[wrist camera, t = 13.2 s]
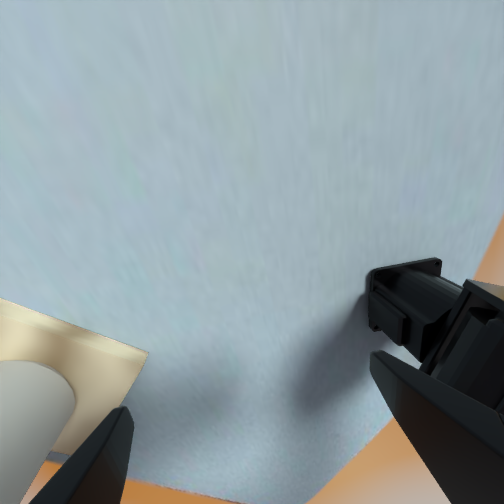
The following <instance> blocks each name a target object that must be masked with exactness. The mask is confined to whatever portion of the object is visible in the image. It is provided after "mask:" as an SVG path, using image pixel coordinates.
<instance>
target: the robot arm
mask: <svg viewBox="0 0 504 504" xmlns="http://www.w3.org/2000/svg"><path fill="white" fill-rule="evenodd" d="M435 262H436V263H435ZM441 267H442V261H441V260H440V259H438V258H436V257H434V258H428V259H423V260H418V261H412V262H407V263H402V264H397V265H391V266H386V267H381V268H376V269H374V270H372V272H371V282H370V294H369V315H368V316H369V327H370V328H371V329H372V331H374V332H376V331H381V330H382V331H383V332H384V333H385V334H386V335H387V336H388V337H389V338H390V339H391V340H392V341H393V342H394V343H395V344H397V345H398V346H404V347H405V348H406V349H407V350H408V351H409V352H410V353H411V354H412V355H413V356H414V357H415V358H416V359H417V360H418V361H419V362H420V363H422V364H421V366H420V368H419V370H418V369H416V368H414V367H413V366H411V365H409V364H407V363H405V362H403V361H401V360H400V359H398V358H396V357H394V356H392V355H390V354H388V353H386V352H385V351H382V350H378V351H373V352H371V353H370V373H371V375H372V377H373V379H374V381H375V383H376V385H377V386H378V388H379V390H380V392H381V394H382V396H383V398H384V399H385V401H386V403H387V405H388V407H389V409H390V411H391V412H392V414H393V416H394V418H395V419H396V421H397V422H398V424H399V425H400V427H401V428H402V430H403V431H404V433H405V434H406V436H407V437H408V439H409V440H410V442H411V444H412V445H413V447H414V448H415V450H416V451H417V453H418V454H419V455H420V457H421V459H422V460H423V462H424V463H425V465H426V466H427V468H428V469H429V471H430V472H431V474H432V475H433V477H434V478H435V480H436V481H437V483H438V484H439V486H440V487H441V489H442V490H443V492H444V493H445V495H446V496H447V498H448V499H449V501H450V502H451V504H504V287H503V286H499V285H494V284H489V283H483V282H479V281H474V280H470V279H466V280H465V282H464V284H463V287H464V288H463V287H461V286H459V285H457V284H455V283H453V282H451V281H449V280H447V279H445V278H443V277H441V276H440V274H441ZM377 273H379V274H378V275H377V276H376V274H377ZM375 325H376V326H375ZM374 326H375V327H374ZM133 432H134V421H133V419H132V417H131V414H130V412H129V410H128V408H127V407H126V406H121V407H117V408H114V409H112V410H111V411H110V413H109V414H108V415H107V416H106V417H105V418H104V419H103V420H102V422H101V423H100V424H99V425H98V426H97V427H96V428H95V429H94V431H93V432H92V433H91V434H90V435H89V436H88V437H87V438H86V440H85V441H84V442H83V443H82V444H81V445H80V446H79V447H78V449H77V450H76V451H75V452H74V453H73V454H72V455H71V456H70V458H69V459H68V460H67V461H66V462H65V463H64V464H63V465H62V467H61V468H60V469H59V470H58V471H57V472H56V473H55V474H54V476H53V477H52V478H51V479H50V480H49V481H48V482H47V483H46V485H45V486H44V487H43V488H42V489H41V490H40V491H39V492H38V494H37V495H36V496H35V497H34V498H33V499H32V500H31V501H30V503H29V504H120V501H121V497H122V493H123V489H124V485H125V480H126V475H127V469H128V463H129V457H130V451H131V444H132V438H133Z"/></svg>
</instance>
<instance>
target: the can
mask: <svg viewBox="0 0 504 504" xmlns="http://www.w3.org/2000/svg"><path fill="white" fill-rule="evenodd" d="M74 405H75V398H74V394H73V390H72V389H71V387H70V386H69V383H68V382H67V380H66V379H65V378H64V376H63V375H62V374H61V373H59V372H58V371H57V370H55V369H54V368H53V367H50V366H48V365H45V364H43V363H40V362H35V361H29V360H21V361H19V360H14V361H0V504H20V502H21V500H22V499H23V497H24V495H25V494H26V492H27V490H28V489H29V487H30V485H31V483H32V482H33V480H34V478H35V477H36V475H37V473H38V471H39V470H40V468H41V466H42V464H43V463H44V461H45V459H46V458H47V456H48V454H49V452H50V451H51V449H52V447H53V446H54V444H55V442H56V440H57V439H58V437H59V435H60V434H61V432H62V430H63V428H64V427H65V425H66V423H67V422H68V420H69V418H70V416H71V415H72V413H73V410H74Z"/></svg>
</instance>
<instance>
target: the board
mask: <svg viewBox="0 0 504 504" xmlns="http://www.w3.org/2000/svg"><path fill="white" fill-rule="evenodd" d="M147 355H148V352H146V351H143V350H140V349H137V348H135V347H132V346H129V345H127V344H124V343H121V342H118V341H116V340H113V339H110V338H107V337H105V336H102V335H99V334H97V333H94V332H91V331H88V330H86V329H83V328H80V327H78V326H75V325H72V324H69V323H67V322H64V321H61V320H58V319H56V318H53V317H50V316H48V315H45V314H42V313H39V312H37V311H34V310H31V309H29V308H26V307H23V306H20V305H18V304H15V303H12V302H9V301H7V300H4V299H1V298H0V361H14V360H19V361H21V360H29V361H35V362H40V363H43V364H45V365H48V366H50V367H53V368H54V369H55V370H57V371H58V372H59V373H61V374H62V375H63V376H64V378H65V379H66V380H67V382H68V383H69V386H70V387H71V389H72V390H73V394H74V398H75V405H74V410H73V413H72V415H71V416H70V418H69V420H68V422H67V423H66V425H65V427H64V428H63V430H62V432H61V434H60V435H59V437H58V439H57V440H56V442H55V444H54V446H53V447H52V449H51V451H54V452H59V453H63V454H67V455H72V454H73V453H74V452H75V451H76V450H77V449H78V447H79V446H80V445H81V444H82V443H83V442H84V441H85V440H86V438H87V437H88V436H89V435H90V434H91V433H92V432H93V431H94V429H95V428H96V427H97V426H98V425H99V424H100V423H101V422H102V420H103V419H104V418H105V417H106V416H107V415H108V414H109V413H110V411H111V410H112V409H114V408H117V407H119V406H120V404H121V403H122V401H123V399H124V398H125V396H126V394H127V393H128V391H129V389H130V388H131V386H132V384H133V382H134V381H135V379H136V377H137V376H138V374H139V372H140V371H141V369H142V367H143V366H144V363H145V361H146V358H147Z"/></svg>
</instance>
